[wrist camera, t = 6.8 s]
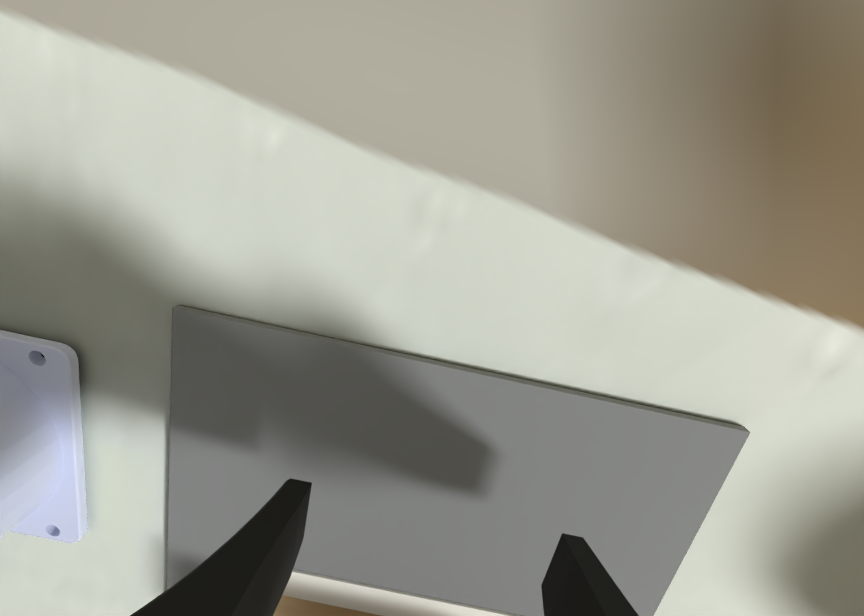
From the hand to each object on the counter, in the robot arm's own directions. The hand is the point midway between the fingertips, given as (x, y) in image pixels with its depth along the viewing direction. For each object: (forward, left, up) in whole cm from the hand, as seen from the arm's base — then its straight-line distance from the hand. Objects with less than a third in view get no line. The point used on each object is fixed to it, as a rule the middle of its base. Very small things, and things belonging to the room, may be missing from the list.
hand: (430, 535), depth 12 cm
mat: (0, -7, -3) cm, 8 cm away
